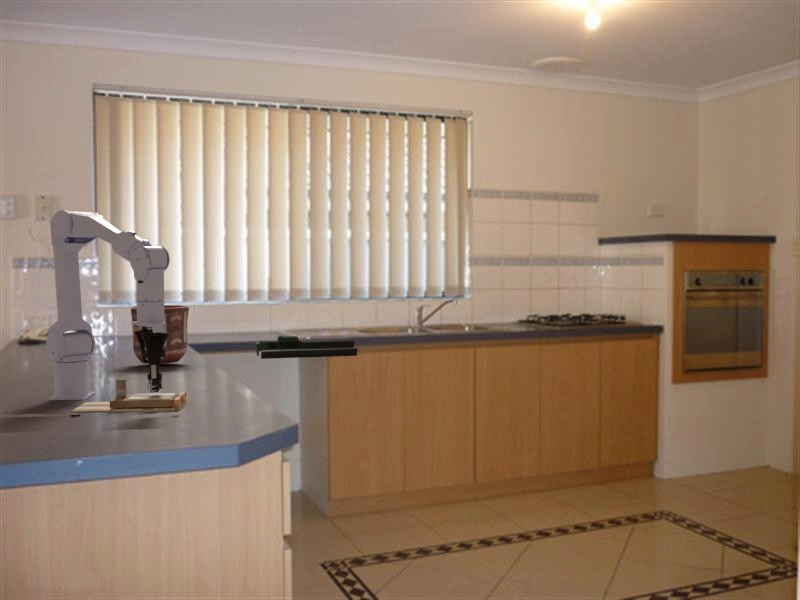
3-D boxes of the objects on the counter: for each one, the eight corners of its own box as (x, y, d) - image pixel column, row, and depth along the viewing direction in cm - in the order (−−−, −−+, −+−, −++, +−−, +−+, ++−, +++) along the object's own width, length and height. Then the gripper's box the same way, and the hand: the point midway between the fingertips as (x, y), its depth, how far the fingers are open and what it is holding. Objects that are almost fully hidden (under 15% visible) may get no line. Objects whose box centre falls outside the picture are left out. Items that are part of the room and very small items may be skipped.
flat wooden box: (85, 406, 176) (85, 393, 176) (186, 404, 179) (186, 391, 179) (70, 416, 165) (70, 401, 165) (178, 413, 168) (178, 399, 168)
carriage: (118, 401, 176) (118, 376, 175) (178, 400, 177) (178, 375, 177) (109, 407, 168) (109, 382, 167) (172, 406, 169) (172, 381, 169)
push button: (165, 393, 170) (164, 347, 169) (140, 394, 169) (138, 348, 168) (169, 387, 176) (167, 343, 175) (144, 388, 175) (142, 344, 174)
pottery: (172, 365, 246) (172, 308, 245) (121, 364, 249) (120, 307, 249) (198, 359, 263) (197, 305, 262) (150, 357, 267) (149, 304, 266)
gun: (359, 362, 273) (361, 343, 269) (257, 365, 263) (258, 345, 260) (356, 352, 278) (358, 333, 274) (255, 355, 269) (256, 335, 265)
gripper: (125, 300, 176) (126, 360, 176) (138, 303, 163) (139, 368, 164) (157, 299, 179) (158, 358, 180) (172, 302, 167) (173, 366, 167)
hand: (151, 363), depth 172 cm, fingers closed on push button, 5 cm apart
